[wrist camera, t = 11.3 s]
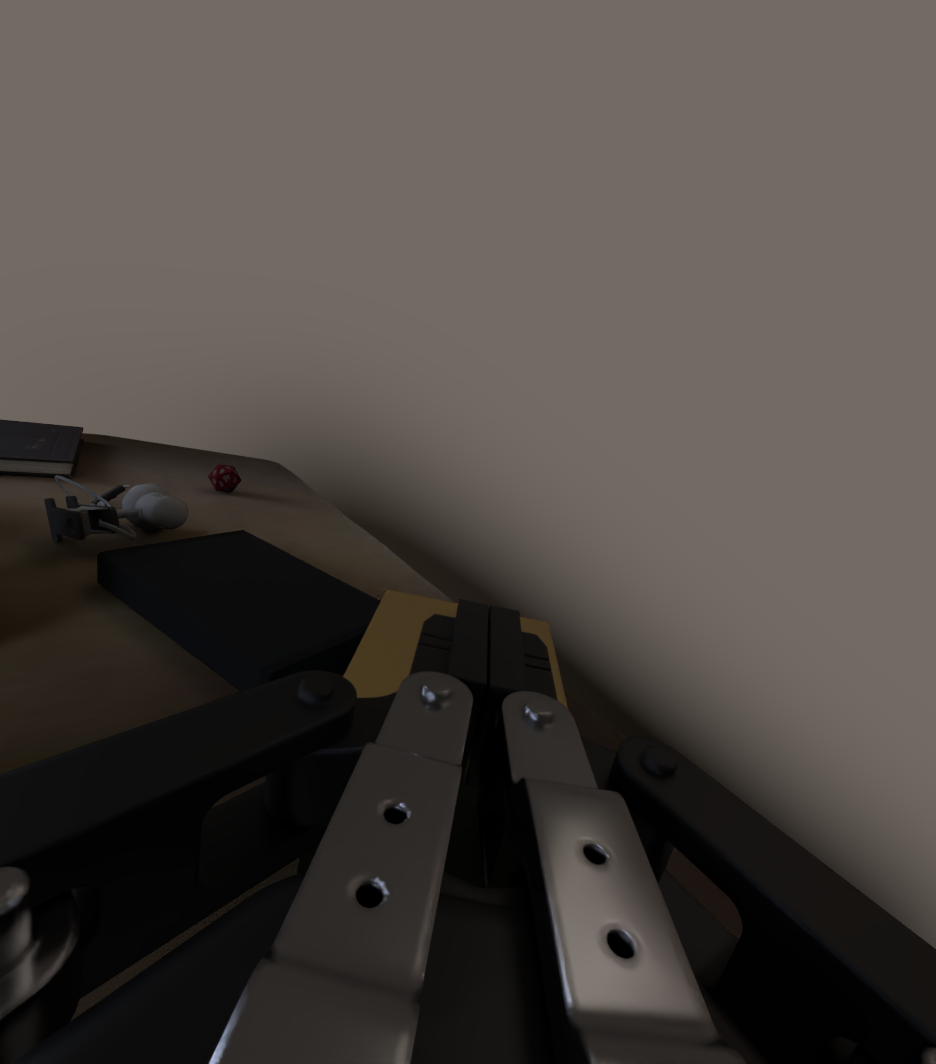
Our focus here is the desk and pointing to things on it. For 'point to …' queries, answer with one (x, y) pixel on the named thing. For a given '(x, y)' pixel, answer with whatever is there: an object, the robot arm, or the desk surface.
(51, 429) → the hardcover book
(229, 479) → the dice
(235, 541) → the external hard drive
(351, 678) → the tin lid
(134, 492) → the clip-on lamp
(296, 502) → the desk surface
